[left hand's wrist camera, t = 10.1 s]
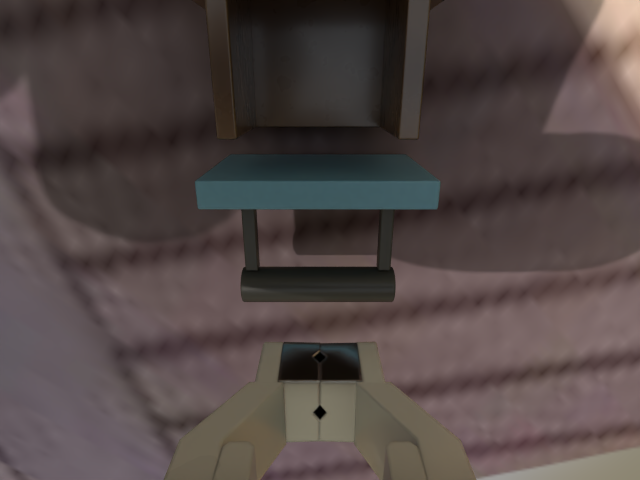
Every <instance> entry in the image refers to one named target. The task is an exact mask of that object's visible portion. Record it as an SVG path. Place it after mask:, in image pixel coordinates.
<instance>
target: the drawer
mask: <svg viewBox="0 0 640 480" xmlns="http://www.w3.org/2000/svg"><path fill="white" fill-rule="evenodd" d="M430 2H431V0H205V9H206V21H207V32H208V43H209V54H210V65H211V76H212V87H213V98H214V110H215V121H216V132H217V138H218V139H237V138H239V137H240V136H242V135H243V134H245V133H247V132H248V131H250V130H251V129H253V128H255V127H381V128H383V129H384V130H386V131H387V132H389V133H390V134H392V135H393V136H395V137H396V138H398V139H418V138H419V128H420V116H421V105H422V93H423V82H424V70H425V59H426V47H427V36H428V25H429V13H430ZM440 183H441V182H440V181H439V180H438V179H437V178H436V177H434V176H433V175H432V174H430V173H429V172H428V171H427V170H425V169H424V168H423V167H421V166H420V165H419V164H418V163H416V162H415V161H414V160H412V159H411V158H410V157H409V156H407V155H406V154H231V155H229V156H228V157H226V158H225V159H224V160H222V161H221V162H220V163H219V164H217V165H216V166H215V167H213V168H212V169H211V170H209V171H208V172H207V173H205V174H204V175H203V176H201V177H200V178H199V179H197V180H196V181H195V188H196V197H197V205H198V209H241V210H242V224H243V238H244V251H245V265H246V267H244V268H243V270H242V275H241V296H242V300H243V301H244V302H392V301H393V300H394V297H395V274H394V270H393V268H392V267H390V266H391V252H392V238H393V223H394V209H437V208H438V202H439V192H440ZM256 209H380V215H379V233H378V250H377V267H259V266H260V263H259V246H258V229H257V213H256Z"/></svg>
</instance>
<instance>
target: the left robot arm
mask: <svg viewBox="0 0 640 480" xmlns="http://www.w3.org/2000/svg"><path fill="white" fill-rule="evenodd" d="M308 441H331V442H354V444H355V446H356V447H357V449H358V450H359V451H360V453H361V454H362V455H363V457H364V458H365V460H366V461H367V462H368V464H369V465H370V466H371V468H372V469H373V471H374V472H375V473H376V475H377V476H378V478H379V479H380V480H476V478H475V475H474V473H473V470H472V468H471V465H470V463H469V460H468V458H467V455H466V453H465V450H464V448H463V445H462V443H461V440H460V439H458V438H457V437H456V436H455V435H454V434H452V433H451V432H450V431H449V430H448V429H446V428H445V427H444V426H443V425H442V424H440V423H439V422H438V421H437V420H435V419H434V418H433V417H432V416H431V415H429V414H428V413H427V412H426V411H425V410H423V409H422V408H421V407H420V406H419V405H417V404H416V403H415V402H414V401H413V400H411V399H410V398H409V397H408V396H407V395H405V394H404V393H403V392H402V391H401V390H399V389H398V388H397V387H396V386H395V385H393V384H392V383H391V382H385V379H384V375H383V370H382V366H381V361H380V357H379V353H378V348H377V344H376V343H375V342H357V343H304V342H284V343H283V342H265V343H264V344H263V348H262V352H261V357H260V361H259V366H258V370H257V375H256V379H255V382H249V383H248V384H247V385H245V386H244V387H243V388H242V389H241V390H239V391H238V392H237V393H236V394H235V395H233V396H232V397H231V398H230V399H228V400H227V401H226V402H225V403H224V404H222V405H221V406H220V407H219V408H218V409H216V410H215V411H214V412H213V413H212V414H210V415H209V416H208V417H207V418H206V419H204V420H203V421H202V422H201V423H199V424H198V425H197V426H196V427H195V428H193V429H192V430H191V431H190V432H189V433H187V434H186V435H185V436H184V437H183V438H181V439H180V441H179V443H178V446H177V448H176V451H175V453H174V455H173V458H172V460H171V463H170V465H169V468H168V470H167V473H166V475H165V478H164V480H260V479H261V478H262V476H263V475H264V474H265V472H266V471H267V470H268V468H269V467H270V465H271V464H272V463H273V461H274V460H275V459H276V457H277V456H278V454H279V453H280V452H281V450H282V449H283V448H284V446H285V445H286V442H308Z"/></svg>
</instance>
